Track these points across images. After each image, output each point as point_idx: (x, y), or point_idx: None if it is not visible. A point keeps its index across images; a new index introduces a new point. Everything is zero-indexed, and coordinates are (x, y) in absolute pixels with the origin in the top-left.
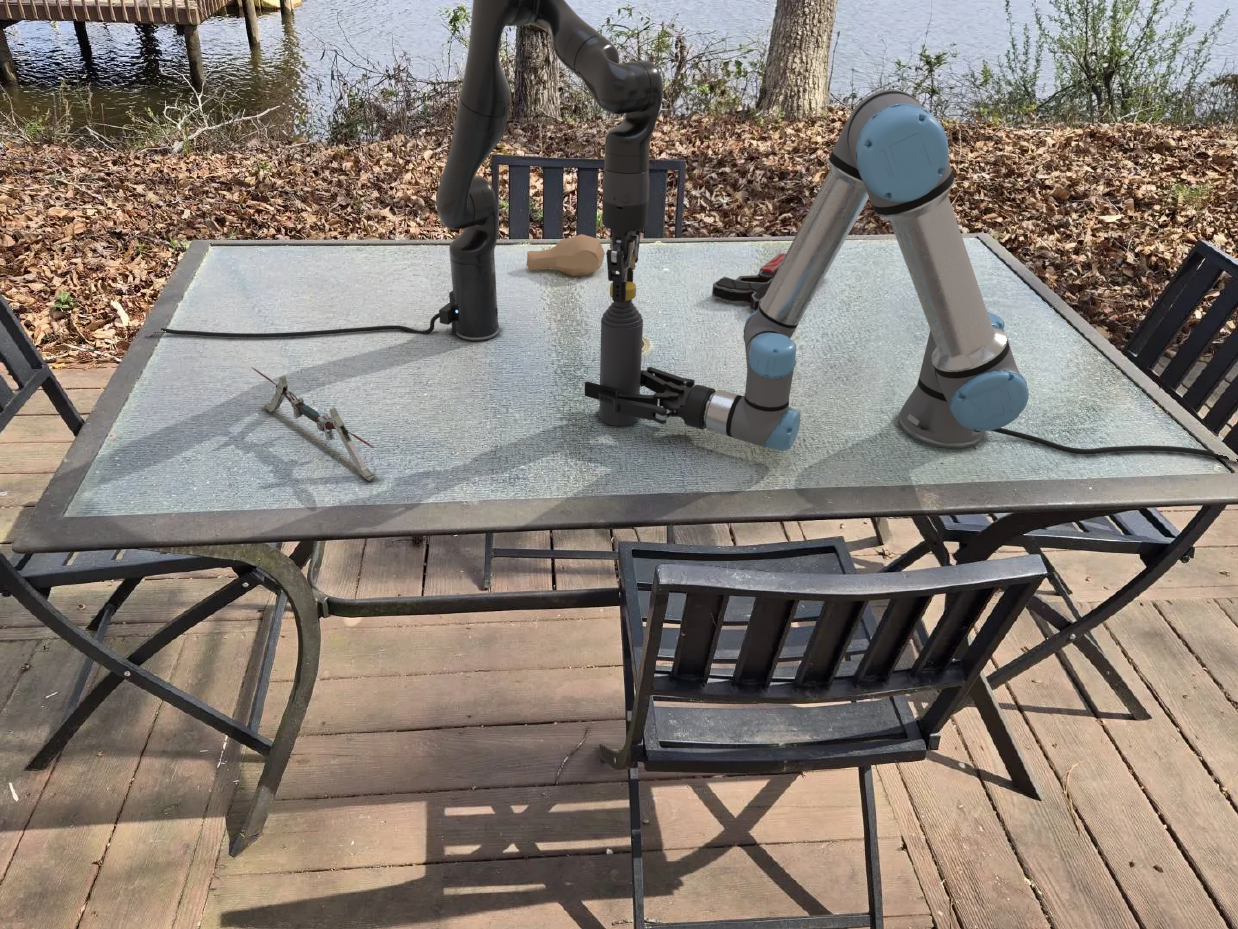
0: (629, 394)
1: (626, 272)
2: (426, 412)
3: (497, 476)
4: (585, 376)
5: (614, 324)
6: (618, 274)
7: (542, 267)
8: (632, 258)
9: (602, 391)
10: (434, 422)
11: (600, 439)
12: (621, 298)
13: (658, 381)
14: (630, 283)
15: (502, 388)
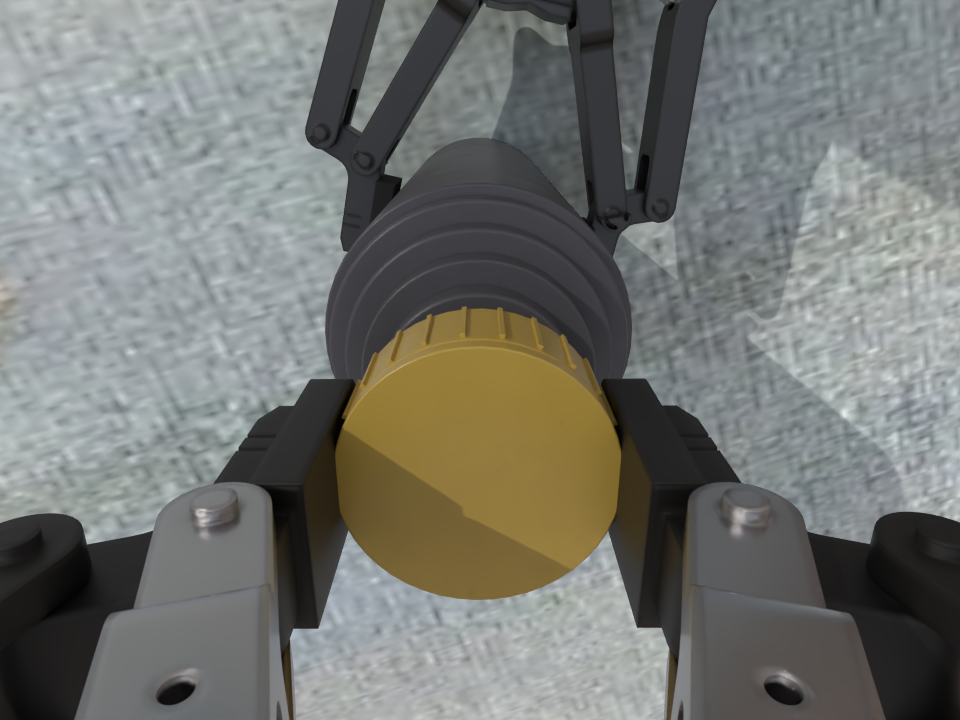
0: (601, 167)
1: (753, 566)
2: (611, 714)
3: (902, 458)
4: (245, 401)
5: (621, 367)
6: (955, 656)
7: None
8: (276, 642)
9: None
10: (656, 682)
11: (648, 234)
12: (692, 417)
13: (437, 58)
14: (399, 423)
15: (423, 599)
